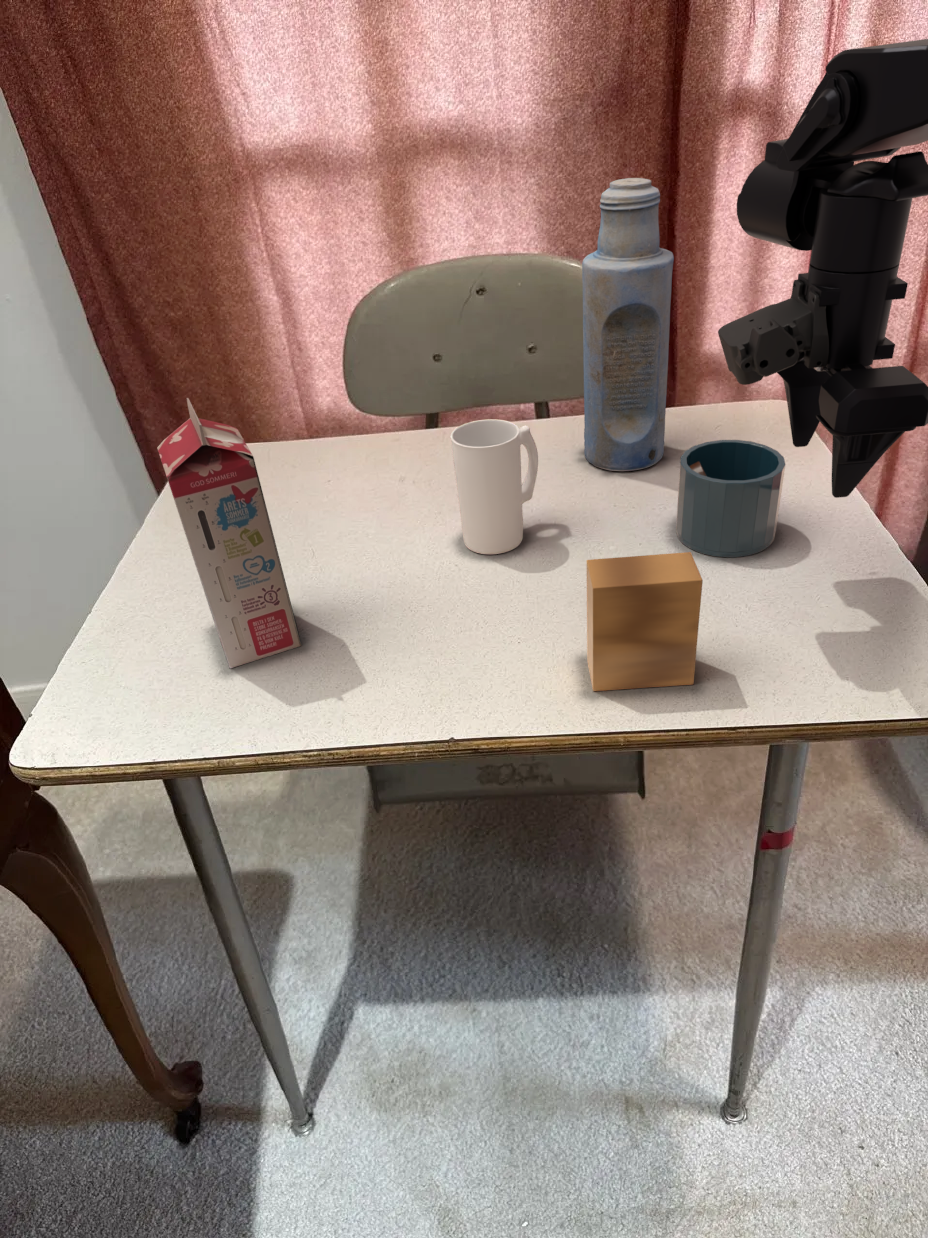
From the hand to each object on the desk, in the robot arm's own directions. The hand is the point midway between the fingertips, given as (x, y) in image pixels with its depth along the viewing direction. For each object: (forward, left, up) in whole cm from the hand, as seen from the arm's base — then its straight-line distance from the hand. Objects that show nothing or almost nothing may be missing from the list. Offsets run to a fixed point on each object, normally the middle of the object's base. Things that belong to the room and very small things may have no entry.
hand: (818, 469), depth 67 cm
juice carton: (+43, +23, -13) cm, 51 cm away
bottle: (+25, -24, -13) cm, 37 cm away
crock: (+9, -10, -13) cm, 19 cm away
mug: (+30, -2, -13) cm, 33 cm away
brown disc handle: (+11, -9, -9) cm, 17 cm away
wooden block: (+9, +14, -13) cm, 22 cm away
